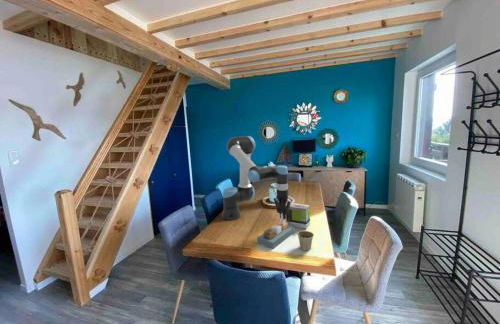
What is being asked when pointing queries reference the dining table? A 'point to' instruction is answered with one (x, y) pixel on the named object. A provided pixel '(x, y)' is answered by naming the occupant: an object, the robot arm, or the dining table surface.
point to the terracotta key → (283, 226)
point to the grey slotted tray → (275, 238)
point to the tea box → (298, 215)
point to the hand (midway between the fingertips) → (282, 223)
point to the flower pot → (305, 239)
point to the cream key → (276, 229)
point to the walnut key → (269, 234)
